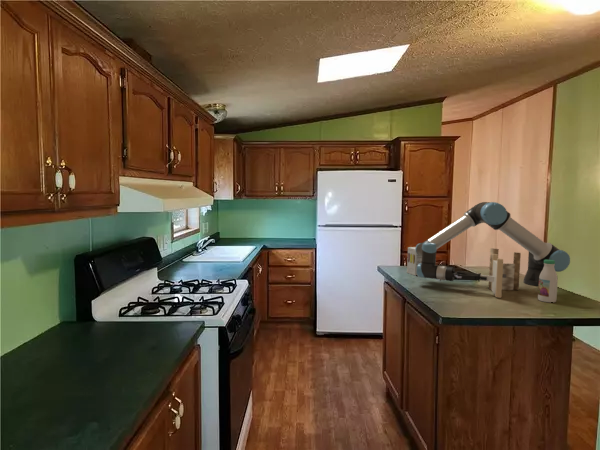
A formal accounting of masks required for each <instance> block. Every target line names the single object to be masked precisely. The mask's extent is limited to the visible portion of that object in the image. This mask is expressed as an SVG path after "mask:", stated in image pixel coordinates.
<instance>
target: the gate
mask: <svg viewBox="0 0 600 450" xmlns="http://www.w3.org/2000/svg"><path fill="white" fill-rule="evenodd" d="M503 264H504V258H499V253H498V254H493V257H492V276H495V277H494V282H491V291H492V293H493V295H494V296H495V297H496V298H502V292H503V290H502V278H506V274H503Z"/></svg>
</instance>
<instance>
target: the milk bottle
mask: <svg viewBox="0 0 600 450" xmlns="http://www.w3.org/2000/svg"><path fill="white" fill-rule="evenodd" d="M554 265H555V261H554V260H544V268H543V270H542V271H541V273H540V276H539V286H537V288H538V289H537V300H539V301H540V302H544V303H551V302H553V303H556V302H557V296H558V281H559V280H558V275H557V274H558V273H557V272H556V271H555V268H554Z"/></svg>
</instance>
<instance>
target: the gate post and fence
mask: <svg viewBox="0 0 600 450" xmlns="http://www.w3.org/2000/svg"><path fill="white" fill-rule="evenodd" d="M489 250H490V251H489V266H488V267H489V271H488V273H489V274H488V276H492V257H493V254H498V255H499V252H500V251H499V248H490V249H489ZM520 271H521V252H513V263H503V274H506V278H502V291H507V290H508V291H519V290H520V287H519V286H520V276H521V275H520V274H521V272H520ZM488 290H491V282H489V281H488ZM491 291H492V290H491Z"/></svg>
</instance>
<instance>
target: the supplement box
mask: <svg viewBox="0 0 600 450" xmlns="http://www.w3.org/2000/svg"><path fill="white" fill-rule="evenodd" d="M415 248H416V246H413V247H412V246H409V247H407V261H406V262H407V263H406V264H407V265H406V273H407V274H409V275H411V276H415V277H417V276H418V275H417V265H418V264H421V262H422V257H421V256H419V255H418V254H417V253H416V250H415ZM416 275H417V276H416Z"/></svg>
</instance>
